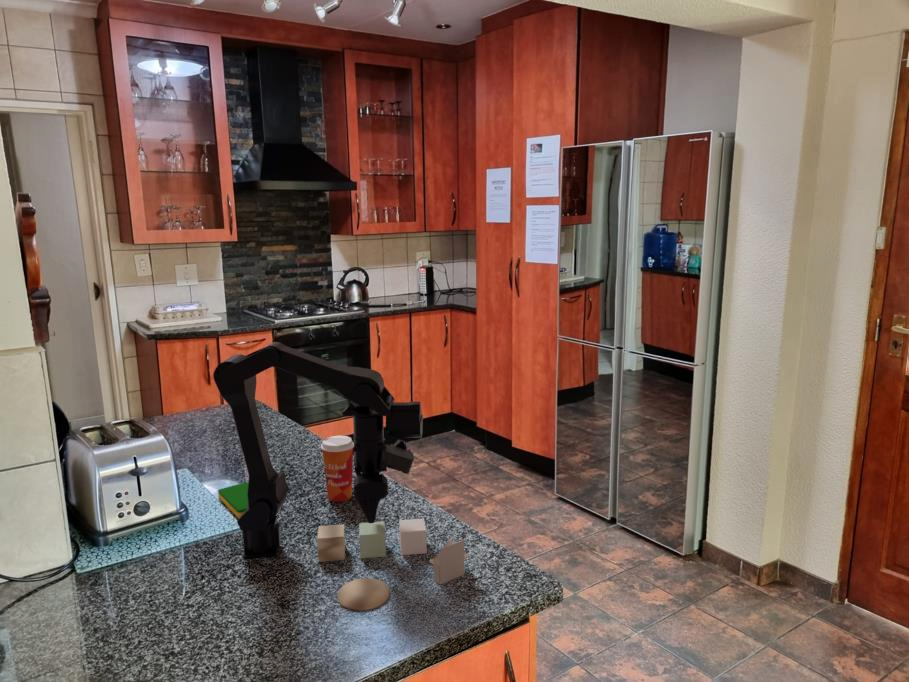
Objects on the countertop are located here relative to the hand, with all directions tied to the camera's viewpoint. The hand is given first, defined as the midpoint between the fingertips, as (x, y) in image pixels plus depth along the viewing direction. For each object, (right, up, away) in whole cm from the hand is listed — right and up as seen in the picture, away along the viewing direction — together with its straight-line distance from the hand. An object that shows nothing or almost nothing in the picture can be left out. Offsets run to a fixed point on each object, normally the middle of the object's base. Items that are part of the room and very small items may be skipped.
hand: (370, 511), depth 129 cm
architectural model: (+15, -11, -7) cm, 20 cm away
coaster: (0, -11, -13) cm, 17 cm away
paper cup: (-11, -3, +26) cm, 28 cm away
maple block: (-8, -9, +1) cm, 12 cm away
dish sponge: (-32, -5, +23) cm, 40 cm away
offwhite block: (+8, -8, +3) cm, 12 cm away
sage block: (0, -8, +2) cm, 9 cm away
